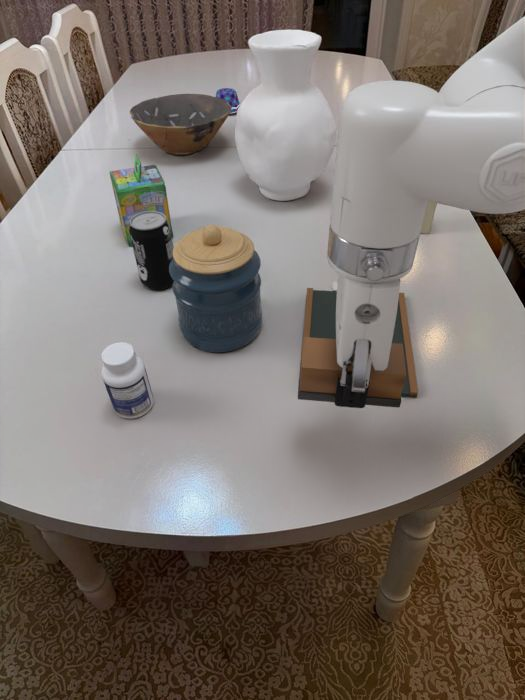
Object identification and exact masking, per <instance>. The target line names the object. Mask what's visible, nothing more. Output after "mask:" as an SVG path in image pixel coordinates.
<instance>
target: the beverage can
mask: <svg viewBox="0 0 525 700" xmlns="http://www.w3.org/2000/svg"><path fill="white" fill-rule="evenodd" d="M129 233H130V237H131V242H132V249H133V255H134V259H135V264H136V267H137V271H138V275H139V281H140V283H141V284H142V285H143V286H144V287H146V288H148V289H150V290H152V291H153V290H154V291H161V290H162V291H163V290H166V289H168V288H170V287H173V281H174V280H173V278H172V277H171V275H170V272H169V264H170V261H171V259H172V258H173V248H174V241H173V238H172V235H171V229H170V224H169V223H168V221H167V220H166V216H165V215H164V214H163V213H161V212H158V211H145V212H141V213H138V214H136V215H134V216H133V217H132V218H131V219H130V228H129Z"/></svg>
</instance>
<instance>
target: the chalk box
mask: <svg viewBox="0 0 525 700" xmlns="http://www.w3.org/2000/svg"><path fill="white" fill-rule="evenodd" d="M109 177H110V181H111V186H112V190H113V191H112V192H113V194H114V195H113V196H114V200H115V204H116V208H117V213H118V218H119V223H120V226H121V229H122V232H123V235H124V237H125V240H126V244H127V245H128V246H129V247H131V246H132V242H131V237H130V233H129V228H130V219H131V218H132V217H133V216H134V215H136V214H138V213H141V212H145V211H158V212H161V213H163V214H164V215H165V216H166V220H167V221H168V223H169V224H170V229H171V235H172V239H173V238H174V232H173V227H172V221H171V214H170V209H169V208H170V207H169V200H168V193H167V187H166V182H165V180H164V178H163V176H162V174H161V172H160V171H159V168H158V166H157V165H156V164H149V165H143V166H142V161H141V160H140V158H139V156H138V154H135V155H134V167H130V168H123V169H117V170H111V171H109ZM132 247H133V246H132Z"/></svg>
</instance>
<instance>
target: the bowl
mask: <svg viewBox="0 0 525 700" xmlns="http://www.w3.org/2000/svg"><path fill="white" fill-rule="evenodd" d="M231 110H232V109H231V106H230V104H229V103H228V102H226V101H225V100H223V99H220V98H217V97H216V96H212V95H208V94H202V93H178V94H169V95H163V96H159V97H153V98H149V99H145V100H142V101H140V102H139V103H137V104H135V105H134V106H132V107H131V108H130V109H129V114H130V119H132V120H133V122H134V123H135V125H136V126H137V127H138V128H139V129H140V130H141V131H142V132H143V133H144V134H145V135H146V136H147V138H149V139H150V141H152V142H153V144H155V145H156V146H157V147H158V148H159V149H161V150H162V151H163V152H165V153H168V154H170V155H176V156H186V155H187V156H188V155H191V154H195V153H196V152H199V151H201V150H202V149H203V148H205V147H206V146H207V145H208V144H209V143H210V142H211V141H212V140H213V139H214V137H215V136H216V135H217V134H218V132H219V131H220V129H221V127H222V126H223V124H224V123H225V122H226V121H227V119H228V117H229V116H230V112H231Z"/></svg>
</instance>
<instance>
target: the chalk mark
mask: <svg viewBox="0 0 525 700" xmlns="http://www.w3.org/2000/svg"><path fill="white" fill-rule="evenodd" d="M337 285H338V280H337V281H336V280H335V281H334V280H333V281H332V291H337Z"/></svg>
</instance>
